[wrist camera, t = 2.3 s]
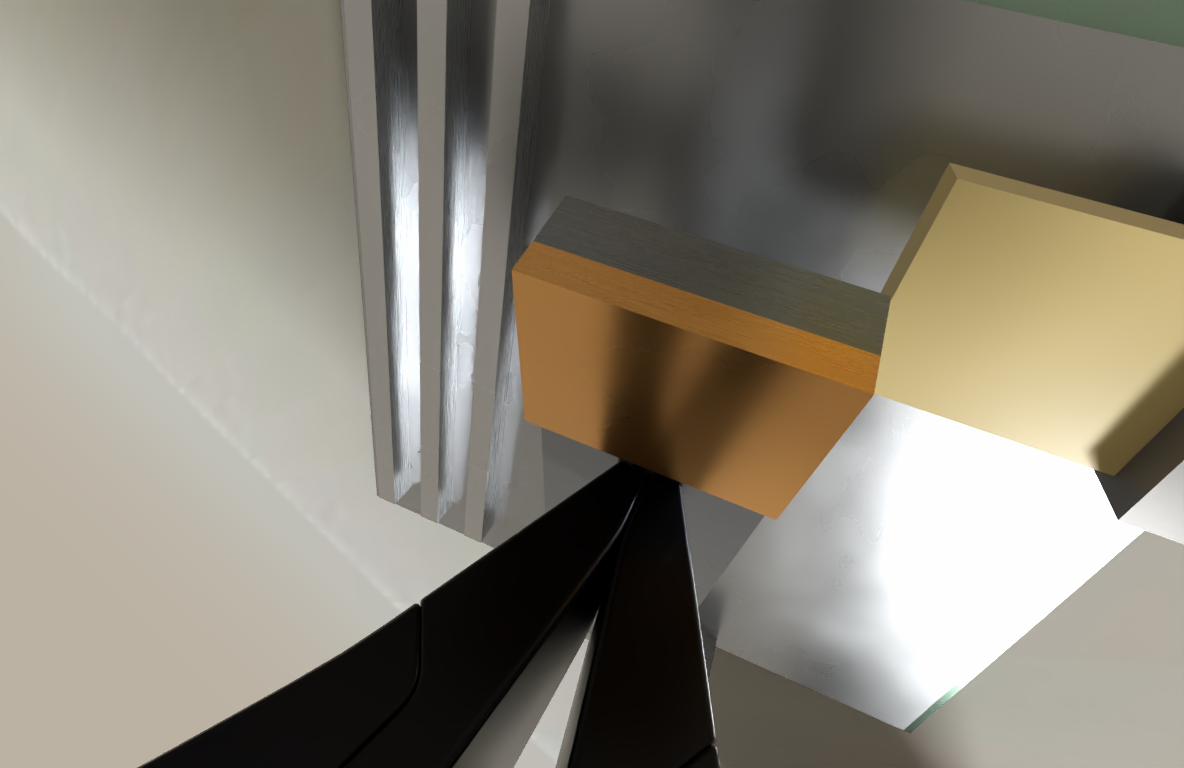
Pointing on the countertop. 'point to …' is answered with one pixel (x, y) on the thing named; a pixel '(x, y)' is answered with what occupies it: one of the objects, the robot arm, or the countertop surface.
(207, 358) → the countertop surface
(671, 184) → the heatsink
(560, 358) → the grey and orange bar
